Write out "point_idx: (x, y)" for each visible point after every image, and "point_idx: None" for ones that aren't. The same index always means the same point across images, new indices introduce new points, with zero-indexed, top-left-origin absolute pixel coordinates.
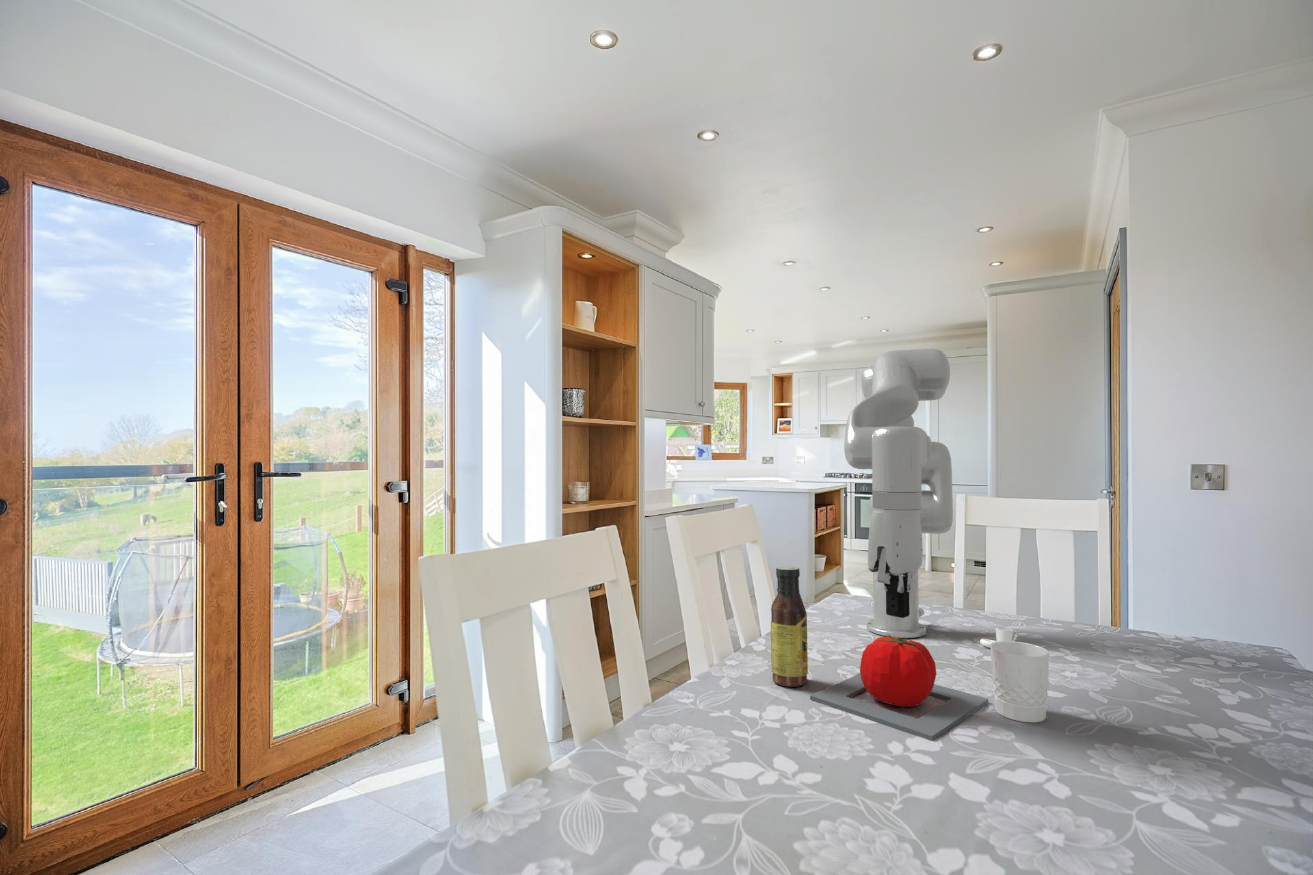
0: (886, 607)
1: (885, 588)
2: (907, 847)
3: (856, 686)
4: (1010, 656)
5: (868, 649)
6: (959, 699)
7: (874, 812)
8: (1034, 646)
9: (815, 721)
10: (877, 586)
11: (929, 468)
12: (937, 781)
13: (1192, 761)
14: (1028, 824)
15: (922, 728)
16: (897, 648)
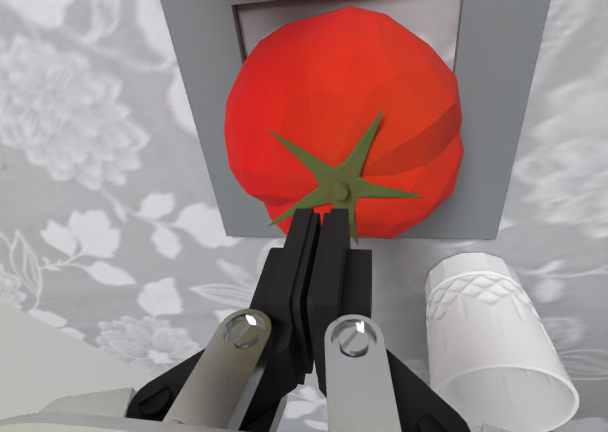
0: (290, 228)
1: (222, 330)
2: (21, 296)
3: None
4: None
5: (245, 100)
6: (445, 203)
7: (21, 258)
8: (563, 417)
9: (80, 45)
10: None
11: None
12: (137, 275)
13: None
14: (157, 344)
15: (238, 215)
16: (281, 201)
